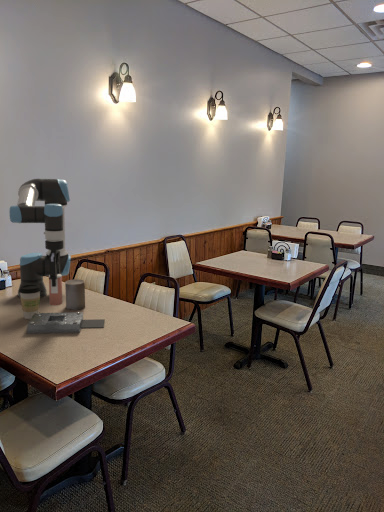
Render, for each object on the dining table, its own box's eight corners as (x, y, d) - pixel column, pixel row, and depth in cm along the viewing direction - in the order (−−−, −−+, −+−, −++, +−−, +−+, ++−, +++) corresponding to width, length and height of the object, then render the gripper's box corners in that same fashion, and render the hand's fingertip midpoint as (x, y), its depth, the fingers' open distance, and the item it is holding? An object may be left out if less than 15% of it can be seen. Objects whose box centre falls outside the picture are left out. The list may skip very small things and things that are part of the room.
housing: (34, 321, 191) (34, 311, 190) (83, 320, 195) (83, 311, 194) (27, 333, 177) (26, 323, 176) (79, 332, 180) (79, 322, 179)
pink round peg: (50, 301, 186) (50, 273, 183) (63, 301, 187) (62, 273, 184) (48, 305, 181) (47, 277, 178) (61, 305, 182) (60, 277, 179)
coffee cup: (34, 321, 191) (33, 290, 188) (15, 319, 193) (14, 288, 190) (45, 314, 200) (44, 285, 197) (27, 312, 202) (26, 283, 199)
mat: (83, 320, 195) (83, 319, 195) (104, 320, 196) (104, 319, 196) (80, 328, 185) (80, 327, 185) (103, 327, 187) (103, 327, 187)
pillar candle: (84, 303, 219) (83, 276, 216) (85, 309, 210) (85, 281, 207) (65, 304, 216) (64, 277, 213) (66, 310, 207) (65, 282, 204)
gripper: (49, 236, 186) (50, 285, 191) (41, 243, 168) (42, 297, 173) (66, 236, 187) (67, 285, 192) (59, 243, 170) (61, 297, 174)
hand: (55, 290), depth 183 cm, fingers closed on pink round peg, 5 cm apart
